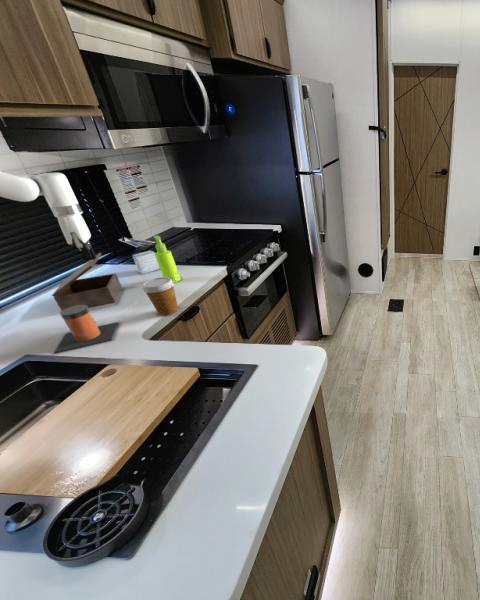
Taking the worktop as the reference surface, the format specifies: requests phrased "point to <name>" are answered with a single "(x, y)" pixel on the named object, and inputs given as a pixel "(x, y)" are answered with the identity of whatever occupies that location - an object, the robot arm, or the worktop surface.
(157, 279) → the disposable coffee cup
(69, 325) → the jar
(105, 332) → the mat
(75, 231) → the robot arm
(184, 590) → the worktop surface
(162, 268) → the soap dispenser
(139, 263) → the medicine box
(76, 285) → the chest
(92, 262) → the chest lid
